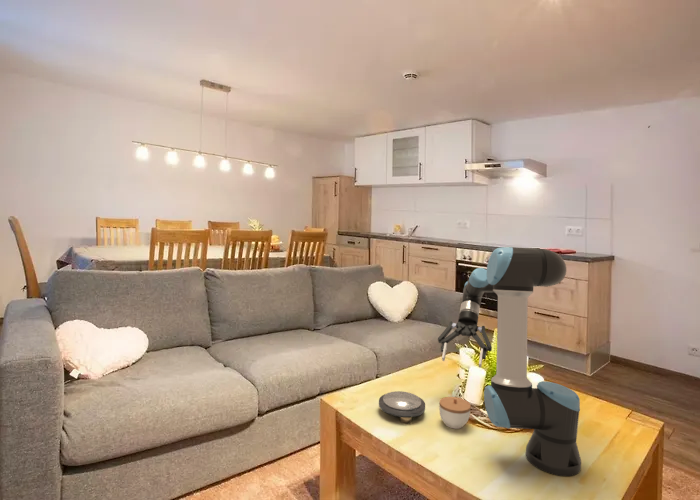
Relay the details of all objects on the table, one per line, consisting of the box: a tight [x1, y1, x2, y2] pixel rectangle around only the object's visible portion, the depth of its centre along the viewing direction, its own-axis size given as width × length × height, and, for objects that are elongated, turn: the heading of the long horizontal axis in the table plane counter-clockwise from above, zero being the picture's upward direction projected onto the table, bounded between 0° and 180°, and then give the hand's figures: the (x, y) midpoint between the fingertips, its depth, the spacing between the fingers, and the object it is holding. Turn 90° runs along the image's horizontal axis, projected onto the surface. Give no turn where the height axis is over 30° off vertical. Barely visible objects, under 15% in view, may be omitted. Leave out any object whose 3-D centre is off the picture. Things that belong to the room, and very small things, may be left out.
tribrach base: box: [378, 390, 426, 424], centre depth 155 cm, size 17×17×5 cm
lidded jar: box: [438, 396, 472, 430], centre depth 147 cm, size 11×11×9 cm
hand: (461, 362), depth 158 cm, fingers open, 13 cm apart
